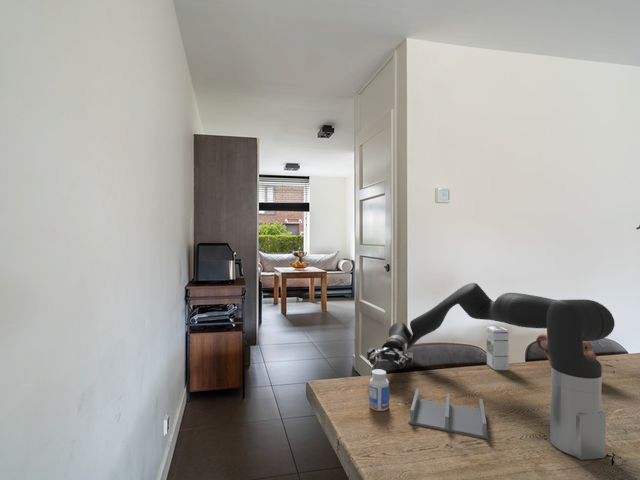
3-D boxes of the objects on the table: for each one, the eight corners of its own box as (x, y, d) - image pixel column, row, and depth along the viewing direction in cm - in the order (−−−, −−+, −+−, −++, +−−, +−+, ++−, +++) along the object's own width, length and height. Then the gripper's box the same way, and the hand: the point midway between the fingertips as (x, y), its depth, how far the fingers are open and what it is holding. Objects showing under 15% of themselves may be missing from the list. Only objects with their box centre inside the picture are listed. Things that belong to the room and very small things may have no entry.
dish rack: (414, 400, 102) (414, 387, 102) (483, 412, 95) (484, 399, 95) (408, 423, 89) (408, 409, 89) (488, 439, 82) (488, 424, 82)
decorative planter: (525, 366, 130) (525, 329, 130) (544, 361, 136) (544, 325, 136) (586, 387, 112) (587, 343, 112) (605, 380, 118) (606, 339, 118)
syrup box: (509, 370, 126) (509, 330, 126) (492, 370, 126) (493, 329, 126) (501, 364, 132) (501, 326, 132) (485, 364, 132) (486, 325, 132)
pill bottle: (388, 402, 100) (388, 368, 100) (389, 412, 94) (390, 375, 94) (368, 401, 100) (369, 367, 100) (369, 410, 95) (369, 374, 95)
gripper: (415, 361, 120) (409, 379, 105) (374, 355, 125) (362, 372, 110) (416, 339, 120) (409, 354, 105) (374, 334, 125) (363, 348, 110)
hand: (385, 363), depth 107 cm, fingers open, 8 cm apart
